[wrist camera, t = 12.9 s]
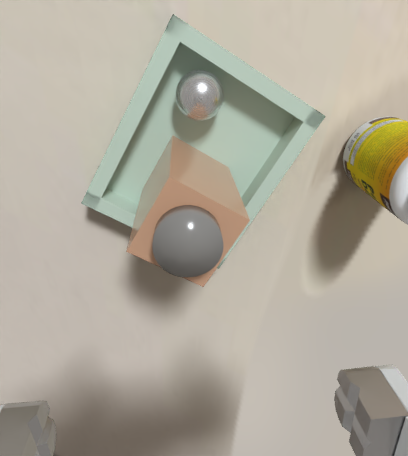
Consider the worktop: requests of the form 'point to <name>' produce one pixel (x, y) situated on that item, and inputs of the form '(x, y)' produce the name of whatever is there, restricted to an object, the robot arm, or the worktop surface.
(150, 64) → the tray
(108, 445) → the worktop surface
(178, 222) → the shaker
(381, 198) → the supplement bottle
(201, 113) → the mixing ball
